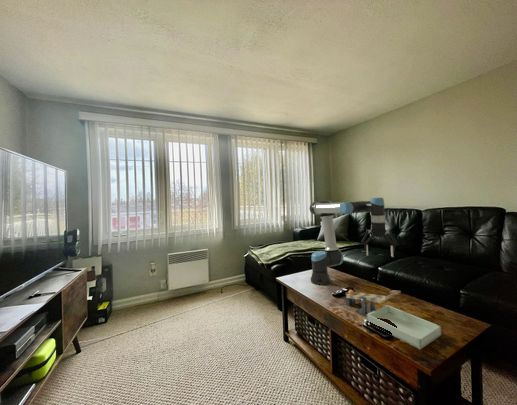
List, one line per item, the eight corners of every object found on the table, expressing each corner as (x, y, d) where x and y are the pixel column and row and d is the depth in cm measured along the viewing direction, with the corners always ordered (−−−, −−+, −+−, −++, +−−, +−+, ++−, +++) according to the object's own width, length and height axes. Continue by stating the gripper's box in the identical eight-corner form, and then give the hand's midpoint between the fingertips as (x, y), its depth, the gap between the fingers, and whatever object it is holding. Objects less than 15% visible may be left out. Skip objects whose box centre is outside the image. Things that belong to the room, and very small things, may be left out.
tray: (366, 322, 107) (366, 314, 107) (387, 312, 115) (387, 304, 115) (420, 349, 85) (419, 339, 85) (441, 335, 93) (440, 326, 93)
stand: (343, 305, 125) (342, 290, 125) (354, 301, 129) (353, 286, 129) (370, 319, 109) (369, 301, 109) (382, 313, 113) (381, 296, 114)
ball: (348, 295, 125) (346, 290, 126) (351, 294, 127) (350, 289, 127) (352, 296, 123) (350, 290, 123) (356, 295, 124) (354, 289, 125)
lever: (346, 298, 125) (345, 292, 126) (366, 291, 133) (364, 286, 134) (381, 304, 106) (379, 297, 106) (401, 295, 114) (399, 289, 115)
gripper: (356, 222, 132) (357, 255, 132) (403, 222, 121) (404, 258, 122) (356, 221, 139) (357, 253, 139) (400, 221, 128) (402, 255, 128)
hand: (379, 255), depth 130 cm, fingers open, 13 cm apart
